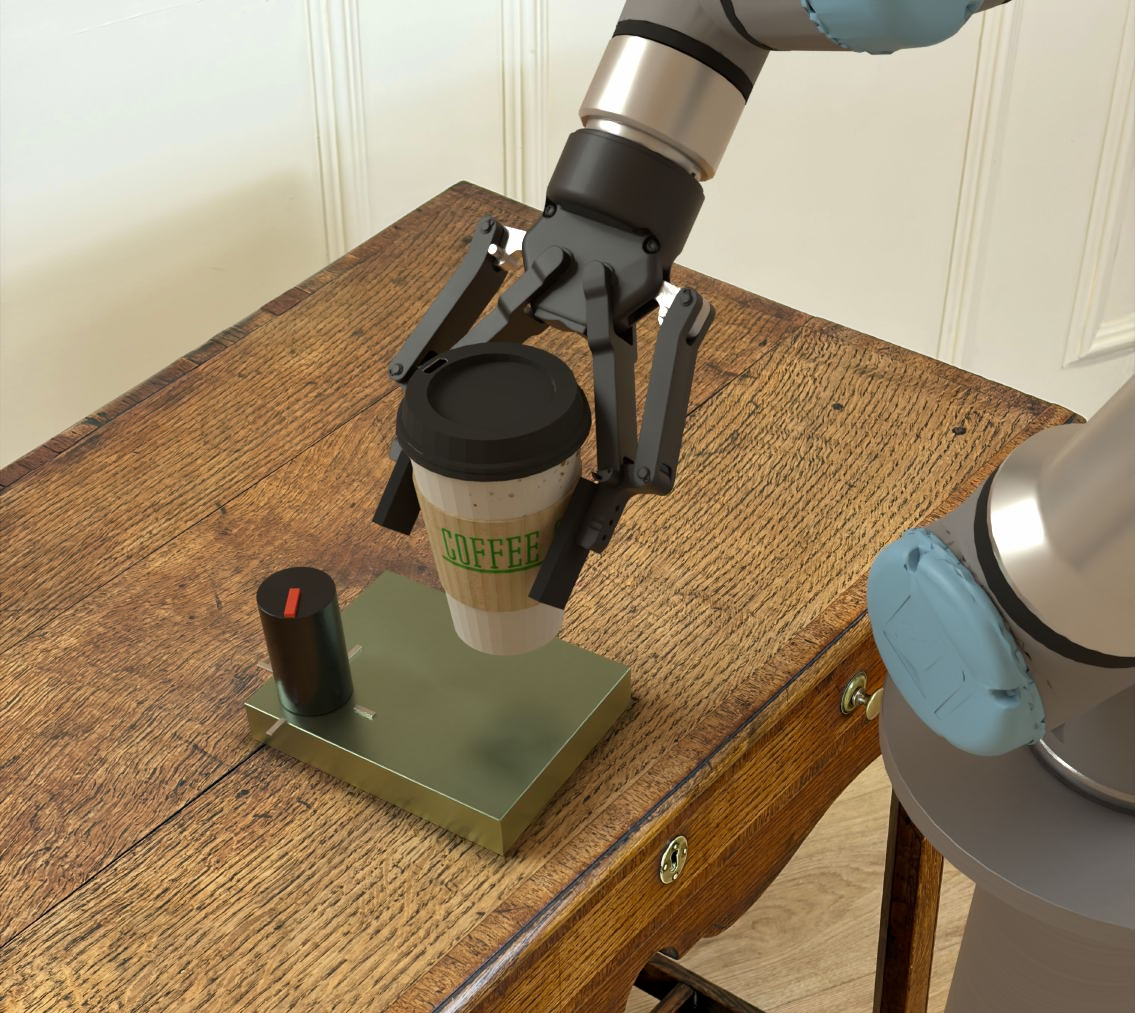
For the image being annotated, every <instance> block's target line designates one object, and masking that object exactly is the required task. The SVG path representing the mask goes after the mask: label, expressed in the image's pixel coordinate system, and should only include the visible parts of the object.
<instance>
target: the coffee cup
mask: <svg viewBox="0 0 1135 1013" xmlns="http://www.w3.org/2000/svg"><path fill="white" fill-rule="evenodd" d="M400 400H401V401H400V403H399V405H398V408H397V411H396V418H395V431H394V432H395V436H397V440H398V444H399V445H400V447H401V448H402V450H403V451H404V453H405V454H406V455H407V456H408V457H409V458H410V459H411V462H412V466H413V482H414V486H415V489H416V493H417V497H418V501H419V504H420V508H421V510H420V512H421V516H422V519H423V524H424V526H425V530H426V534H427V537H428V542H429V545H430V549H431V552H432V556H433V560H434V564H435V567H436V571H437V575H438V578H439V582H440V584H441V586H442V588H443V589H444V593H446V596H447V600H448V604H449V608H450V612H451V615H452V619H453V623H454V627H455V630H456V632H457V634H458V636H459V637H460V638H461V639H462V640H463V641H464V642H465V643H466V644H467V645H469V646H470V647H472V648H473V649H476V650H478V651H481V652H483V653H488V654H492V655H502V656H508V655H518V654H524V653H528V652H531V651H534V650H536V649H538V648H540V647H542V646H544V645H546V644H547V643H548V642H550V641H551V640H552V639H553V638H554V637H556V636H557V635H558V634H559V632H560V631H561V629H562V627H563V623H564V620H565V609H566V608H565V609H564V610H562V609H559V608H555V607H552V606H549V605H546V604H543V603H540V602H538V601H536V600H534V599H532V598H530V597H528V595H529V593H530V590H531V588H532V586H533V584H534V581H535V579H536V577H537V574H538V572H539V570H540V567H541V565H542V563H543V561H544V558H545V556H546V554H547V551H548V549H549V547H550V545H551V542H552V540H553V538H554V535H555V533H556V531H557V529H558V526H559V524H560V522H561V519H562V517H563V515H564V513H565V510H566V508H567V506H568V503H569V501H570V499H571V497H572V494H573V492H574V490H575V487H576V485H577V483H578V481H579V478H580V476H581V477H583V461H582V458H581V454H582V447H583V446H584V444H585V442H586V440H587V439H588V437H589V435H590V433H591V429H592V424H593V417H592V410H591V407H590V403H589V400H588V398H587V396H586V393H585V392H584V389H583V388H582V387H581V385H580V384H579V383H578V381H577V378H576V377H575V374H574V372H573V370H572V369H571V368H570V367H569V365H568V364H567V363H566V362H565V361H563V360H562V359H561V358H559V357H558V356H557V355H555V354H554V353H551V352H549V351H547V350H545V349H543V348H539V347H535V346H533V345H529V344H525V343H523V344H518V343H509V342H486V343H477V344H471V345H465V346H462V347H458V348H455V349H451V350H449V351H446V352H444V353H441V354H439V355H437V356H435V357H434V358H432V359H430V360H429V361H427V362H425V363H424V364H423V365H422V366H421V367H420V368H418V369H417V370H416V371H415V373H414V374H413V375H412V377H411V378H410V380H409V382H408V385H407V387H406V391H404V396H403V397H402V398H401V399H400Z"/></svg>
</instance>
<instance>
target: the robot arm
mask: <svg viewBox="0 0 1135 1013" xmlns="http://www.w3.org/2000/svg"><path fill="white" fill-rule="evenodd" d="M1011 1H1013V0H625V2H624V5H623V6H622V10H621V12H620V15H619V17H618V20H617V22H616V25H615V29H614V31H613V32H612V36H611V38H610V39H609V40H608V42H607V45H606V47H605V49H604V52H603V54H602V57H601V59H600V61H599V63H598V66H597V68H596V70H595V72H594V74H593V77H592V79H591V81H590V84H589V86H588V89H587V91H586V93H585V95H584V98H583V100H582V102H581V105H580V107H579V109H578V117H579V120H580V122H581V125H582V127H583V128H579V129H576V130H575V131H573V132H571V133H569V134H568V137H567V139H566V141H565V144H564V146H563V148H562V151H561V152H560V155H559V158H558V161H557V163H556V165H555V168H554V170H553V173H552V175H551V177H550V179H549V182H548V184H547V185H546V186H547V187H546V191H545V199H544V207H543V211H542V213H541V214H540V216H539V218H538V219H537V220H536V221H535V223H533V224H532V225H531V226H530V227H529V228H528V229H527V230H522V229H518V228H514V227H511V226H508V225H505V224H503V223H502V222H500V221H499V220H498V219H496V218H495V217H494V216H492V215H485V216H482V217H481V218H480V219H479V220H478V222H477V224H476V227H475V229H474V232H473V235H472V238H471V241H470V244H469V246H468V249H467V253H466V255H465V256H464V257H463V259H462V261H461V262H460V264H458V267H457V268H456V269H455V271H454V272H453V273H452V275H451V277H450V278H449V279H448V281H447V282H446V283H445V285H444V287H443V288H442V289H441V291H440V292H439V293H438V295H437V296H436V297H435V299H434V300H433V302H432V303H431V305H430V306H429V307H428V309H427V310H426V311H425V313H424V315H423V316H422V317H421V319H420V320H419V321H418V323H417V325H416V326H415V327H414V328H413V330H412V332H411V333H410V334H409V335H408V337H407V339H406V340H405V342H404V343H403V344H402V346H401V347H400V348H399V350H398V351H397V353H396V354H395V355H394V357H393V358H392V360H391V361H390V362H389V364H388V367H387V375H388V377H389V379H391V380H392V381H394V382H395V383H397V384H398V386H399V387H400V388H401V389H402V390H403V391H404V392H405V391H406V387H407V385H408V382H409V380H410V378H411V377H412V375H413V374H414V373H415V371H416V370H417V369H418V368H420V367H421V366H422V365H423V364H424V363H425V362H427V361H429V360H430V359H432V358H434V357H435V356H437V355H439V354H441V353H444V352H446V351H449V350H451V349H455V348H458V347H462V346H465V345H471V344H477V343H486V342H509V343H518V344H525V342H526V341H527V340H529V339H530V338H532V337H535V336H539V335H541V334H543V333H544V332H545V331H546V330H548V328H550V327H551V328H553V329H556V330H557V331H561V332H563V333H576V334H577V335H579V336H580V337H581V338H583V340H585V341H587V345H588V348H589V351H590V352H591V356H592V375H593V376H592V377H593V378H592V379H593V401H594V402H593V403H594V424H595V442H596V443H595V446H596V448H595V449H596V450H595V451H596V470H595V471H590V474H591V477H592V479H593V480H594V481H596V482H597V483H596V482H594V481H593V480H591V479H588V478H585V477H583V476H582V477H581V476H580V478H579V481H578V483H577V485H576V487H575V490H574V492H573V494H572V497H571V499H570V501H569V503H568V506H567V508H566V510H565V513H564V515H563V517H562V519H561V522H560V524H559V526H558V529H557V531H556V533H555V535H554V538H553V540H552V542H551V545H550V547H549V549H548V551H547V554H546V556H545V558H544V561H543V563H542V565H541V567H540V570H539V572H538V574H537V577H536V579H535V581H534V584H533V586H532V588H531V590H530V593H529V595H528V597H530V598H532V599H534V600H536V601H538V602H540V603H543V604H546V605H549V606H552V607H555V608H559V609H562V610H564V609H566V606H567V604H568V602H569V600H570V598H571V595H572V593H573V591H574V588H575V586H576V585H577V584H576V583H577V582H578V580H579V576H580V575H581V572H582V570H583V568H584V565H585V563H586V561H587V558H588V556H589V555H590V553H591V552H593V553H595V554H598V555H602V553H603V552H604V551H605V550H607V548H608V547H609V545H610V542H611V540H612V538H613V535H614V534H615V531H616V528H617V526H618V524H619V522H620V520H621V517H622V516H623V513H624V511H625V508H626V506H627V504H628V502H629V501H630V500H631V499H632V498H633V497H634V496H637V495H656V496H659V497H666V496H668V495H670V494H671V493H672V492H673V490H674V488H675V487H674V486H675V483H676V477H677V471H678V466H679V461H680V455H681V449H682V444H683V438H684V433H685V427H686V420H687V415H688V411H689V410H688V409H689V403H690V398H691V392H692V388H693V387H692V386H693V380H694V376H695V369H696V364H697V358H698V352H699V349H700V347H701V345H702V343H703V341H704V340H705V337H706V336H707V334H708V332H709V330H710V327H711V326H712V325H713V322H714V321H715V318H716V315H717V313H716V308H715V306H714V305H713V304H712V303H711V302H710V301H708V300H707V299H706V298H705V297H704V296H703V295H702V294H700V293H699V292H698V291H697V290H696V289H695V288H693V287H691V286H684V287H682V288H681V287H679V286H677V285H675V284H673V283H672V281H671V278H672V277H671V275H672V267H673V264H674V263H675V260H677V258H678V257H679V256H680V255H681V254H682V252H683V251H684V248H685V246H686V244H687V241H688V239H689V237H690V234H691V232H692V231H693V228H694V225H695V223H696V221H697V219H698V216H699V214H700V211H701V209H702V207H703V204H704V202H705V200H706V195H705V194H704V193H705V192H704V188H703V186H702V184H701V183H704V182H707V181H709V180H713V179H714V177H715V176H716V173H717V172H718V169H719V166H720V164H721V162H722V160H723V157H724V155H725V153H726V150H727V148H728V146H729V144H730V141H731V139H732V137H733V135H734V132H735V130H736V127H737V125H738V124H739V121H740V119H741V116H742V114H743V112H744V110H745V107H746V106H747V104H748V101H749V99H750V96H751V94H752V92H753V89H754V86H755V85H756V82H757V81H758V78H759V77H760V74H761V72H762V70H763V67H764V65H765V63H766V61H767V59H768V56H770V52H854V53H858V54H862V53H867V54H869V55H871V56H887V55H892V54H894V53H895V52H897V51H901V50H909V49H920V48H927V47H928V48H929V47H931V46H935V45H938V44H940V43H943V42H945V41H947V40H948V39H950V38H953V37H954V36H955V35H957V34H958V33H959V32H960V30H961V29H962V28H963V27H964V25H966V24H967V23H968V21H969V20H970V19H971V18H972V16H973V15H975V14H978V13H981V12H985V11H988V10H990V9H994V8H996V7H998V6H1002V5H1005V4H1006V5H1007V4H1008V3H1011ZM520 259H522V264H523V271H524V273H523V274H521V276H519V277H518V278H517V279H516V280H515V281H514V282H512V284H511V285H509V287H507V288H506V290H504V291H503V292H502V293H501V294H500V295H499V296H498V298H497V304H496V306H495V307H494V308H493V309H492V310H490V311H489V313H487V314H486V315H485V317H483V318H482V319H481V320H480V321H479V322H478V323H477V324H476V322H477V321H478V319H479V318H480V317H481V315H482V314H483V312H484V311H485V310H486V309H487V307H488V306H489V304H490V303H491V301H492V300H493V299H494V297H495V296H496V294H498V291H499V290H500V288H501V287H502V285H503V284H504V281H505V280H506V278H507V276H508V274H509V271H515V270H517V269H518V268H519V265H520V262H519V261H520ZM658 308H659V309H658ZM657 309H658V311H657V321H658V324H659V325H660V327H659V330H658V333H657V336H656V341H655V345H654V351H653V357H652V362H651V368H650V373H649V380H648V383H647V384H648V385H647V391H646V396H645V402H644V408H643V413H642V419H641V425H640V429H639V436H638V421H637V420H638V418H637V397H636V396H637V395H636V374H635V373H636V372H635V364H636V363H637V361H638V358H639V357H638V356H639V355H638V335H637V334H638V333H637V330H638V329H637V323H639V322H640V321H641V320H643V319H644V318H646V317H647V316H649V315H650V314H651V313H652V312H654V311H655V310H657ZM475 324H476V325H475ZM473 326H474V327H473ZM388 459H389V460H391V461H393V462H395V464H394V466H393V468H392V471H391V474H390V476H389V478H388V481H387V483H386V486H385V488H384V491H383V493H382V495H381V497H380V500H379V502H378V505H377V507H376V509H375V512H374V514H373V517H372V519H371V522H372V523H374V524H376V525H378V526H380V527H383V528H386V529H388V530H392V531H394V532H397V533H400V534H401V535H405V536H408V537H410V536H411V533H412V531H413V528H414V526H415V524H416V522H417V519H418V516H419V514H420V512H421V508H420V504H419V501H418V497H417V493H416V489H415V486H414V482H413V466H412V462H411V459H410V458H409V457H408V456H407V455H406V454H405V453H404V451H403V450H402V448H401V447H400V445H399V444H398V440H397V436H396V435H395V437H394V439H393V440H392V443H391V445H390V448H389V456H388ZM866 607H867V614H868V618H869V622H870V625H871V629H872V636H873V639H874V642H875V645H876V648H877V650H878V653H879V655H880V657H881V660H882V662H883V664H884V666H885V668H886V671H888V672H889V674H890V676H891V678H892V679H893V681H894V683H895V685H896V686H897V688H898V689H899V691H900V693H901V694H902V696H903V697H904V698H905V700H906V701H907V703H908V704H909V705H910V707H911V708H912V709H913V710H914V711H915V713H916V714H917V715H918V716H919V717H920V718H921V720H922V721H923V722H924V723H925V724H926V725H927V726H928V727H929V728H931V729H932V730H933V731H934V732H935V733H936V734H937V735H939V736H940V737H943V738H945V739H946V740H947V741H949V742H950V743H951V744H952V745H954V746H955V747H957V748H959V749H961V750H963V751H965V752H968V753H971V754H974V755H980V756H998V755H1002V754H1005V753H1007V752H1010V751H1012V750H1014V749H1016V748H1018V747H1020V746H1022V745H1025V744H1027V745H1028V747H1029V749H1030V750H1031V752H1032V753H1033V755H1034V756H1035V758H1036V759H1037V760H1038V761H1039V762H1040V764H1041V765H1042V766H1043V767H1044V768H1045V769H1046V770H1047V771H1048V772H1049V773H1050V774H1051V775H1052V776H1054V777H1055V778H1056V779H1057V780H1058V781H1059V782H1061V783H1062V784H1064V785H1065V786H1066V787H1068V788H1069V789H1071V790H1072V791H1074V792H1076V793H1077V794H1079V795H1080V796H1082V797H1084V798H1086V799H1088V800H1090V801H1092V802H1094V803H1096V804H1099V805H1101V806H1103V807H1106V808H1109V809H1112V810H1114V811H1117V812H1120V813H1124V814H1128V815H1131V816H1135V372H1134V373H1133V374H1132V375H1131V376H1130V377H1129V378H1128V379H1127V380H1126V382H1124V384H1122V385H1121V386H1120V387H1119V388H1118V389H1117V391H1115V392H1114V393H1113V395H1112V396H1111V397H1110V398H1109V399H1108V400H1107V401H1106V402H1104V404H1103V405H1102V406H1101V407H1100V408H1099V409H1098V410H1097V411H1096V412H1095V413H1094V414H1093V415H1092V416H1091V417H1090V418H1089V419H1088V420H1087V421H1086V422H1085V423H1078V422H1077V423H1075V422H1073V423H1067V424H1059V425H1055V426H1051V427H1048V428H1044V429H1042V430H1040V431H1038V432H1036V433H1034V434H1033V435H1031V436H1029V437H1028V438H1027V439H1025V440H1023V441H1022V442H1020V443H1019V445H1017V446H1016V447H1015V448H1013V450H1012V451H1011V452H1009V453H1008V454H1007V456H1006V457H1005V458H1003V460H1002V461H1001V462H1000V463H999V464H998V465H997V466H996V467H995V468H994V470H993V471H991V473H990V474H989V475H988V476H987V477H986V478H985V479H984V480H983V481H982V482H981V484H980V485H978V487H976V489H975V490H974V491H973V492H972V493H971V494H970V495H969V496H968V497H967V498H966V499H965V500H964V501H963V502H961V504H960V505H958V506H957V507H955V508H953V510H951V511H949V512H948V513H946V514H945V515H943V516H942V517H940V518H938V519H936V520H935V521H932V522H931V523H928V524H926V525H924V526H922V527H920V526H915V527H914V528H913V527H912V528H908V529H906V530H905V531H904V532H903V533H902V534H901V537H899V538H897V539H895V540H894V541H892V542H890V543H889V544H887V545H886V546H884V547H883V548H882V549H881V550H880V551H879V553H878V554H877V555H876V556H875V558H874V560H873V562H872V564H871V567H870V569H869V572H868V576H867V581H866Z"/></svg>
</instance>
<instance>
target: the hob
mask: <svg viewBox="0 0 1135 1013" xmlns="http://www.w3.org/2000/svg"><path fill="white" fill-rule="evenodd" d="M340 614H341V619H342V625H343V630H344V636H345V642H346V647H347V653H348V659H349V664H350V670H351V675H352V681H353V690H352V693H351V695H350V697H349V698H348V700H347V701H346V702H345V703H344V704H343V705H342V706H340V707H339V708H337V709H335V710H333V711H331V712H328V713H325V714H321V715H314V716H307V715H300V714H296V713H293V712H291V711H289V710H288V709H286V708H285V707H284V706H283V705H282V704H281V702H280V700H279V698H278V693H277V689H276V685H275V680H274V676H273V675H272V676H271V677H270V678H269V679H268V680H267V681H266V682H265V683H264V684H263V685H262V686H261V687H260V688H259V689H258V690H256V691H255V692H254V693H253V694H252V695H251V696H250V697H248V698H247V700H246V701H245V702H244V703H243V705H244V708H245V713H246V717H247V721H248V725H249V728H250V732H251V733H250V734H251V737H252V739H253V740H255V741H257V742H259V743H261V744H264V745H266V746H268V747H270V748H272V749H275V751H276V750H277V751H279V752H281V753H283V754H285V755H287V756H289V757H291V758H293V759H296V760H298V761H300V762H302V763H304V764H306V765H309V766H311V767H313V768H315V769H317V770H318V771H321V772H323V773H325V774H328V775H330V776H332V777H334V778H336V779H338V780H340V781H342V782H344V783H347V784H349V785H351V786H353V787H355V788H357V789H360V790H361V791H364V792H366V793H368V794H370V795H372V796H374V797H376V798H379V799H381V800H383V801H385V802H386V803H389V804H391V805H394V806H395V807H398V808H399V809H402V810H404V811H406V812H408V813H410V814H412V815H414V816H416V817H419V818H421V819H424V820H425V821H427V822H429V823H432V824H434V825H436V826H438V827H440V828H442V829H444V830H446V831H448V832H451V833H452V834H455V835H457V836H460V837H461V838H463V839H466V840H468V841H470V842H472V843H473V844H476V845H479V846H480V847H482V848H485V849H487V850H489V851H491V852H493V853H495V854H497V855H500V856H502V857H503V856H505V855H506V853H507V852H508V851H509V850H510V849H511V847H512V846H513V845H514V844H515V843H516V842H517V840H519V838H520V837H521V835H523V833H524V832H525V830H526V829H528V827H529V826H530V825H531V823H532V822H533V821H534V820H535V818H536V817H537V816H538V815H539V814H540V813H541V811H543V809H544V808H545V807H546V806H547V804H548V803H549V802H550V801H551V799H552V798H553V797H554V796H555V795H556V794H557V792H559V790H560V789H561V787H562V786H563V785H564V784H565V782H566V781H567V780H568V779H569V778H570V777H571V776H572V775H573V773H574V772H575V771H576V769H578V767H579V766H580V765H581V764H582V762H584V760H585V759H586V757H588V756H589V754H590V753H591V752H592V751H593V749H594V748H595V747H596V746H597V744H598V743H599V742H600V741H601V740H602V738H603V737H604V736H605V735H606V734H607V733H608V731H609V730H610V729H611V728H612V726H613V725H615V723H616V722H617V721H618V719H619V718H620V717H621V716H622V715H623V713H624V712H625V711H626V710H627V709H628V708H629V707H630V705H631V704H632V668H631V667H630V666H628V665H626V664H623V663H620V662H619V661H615V660H614V659H611V658H608V657H605V656H603V655H601V654H598V653H596V652H593V651H590V650H588V649H585V648H583V647H581V646H578V645H576V644H573V643H571V642H568V641H565V640H563V639H561V638H558V637H556V636H555V637H554V638H553V639H552V640H551V641H550V642H548V643H547V644H546V645H544V646H542V647H540V648H538V649H536V650H534V651H531V652H528V653H524V654H518V655H508V656H502V655H492V654H488V653H483V652H481V651H478V650H476V649H473V648H472V647H470V646H469V645H467V644H466V643H465V642H464V641H463V640H462V639H461V638H460V637H459V636H458V634H457V632H456V630H455V627H454V623H453V619H452V615H451V612H450V608H449V604H448V600H447V596H446V592H445V591H441V590H439V589H436V588H434V587H431V586H429V585H426V584H423V583H422V582H421V583H420V582H419V581H416V580H414V579H411V578H409V577H406V576H404V575H402V574H398V573H396V572H393V571H392V570H389V569H385V570H384V571H383V572H382V573H381V574H380V575H379V576H378V577H377V578H376V579H374V581H372V583H370V585H368V586H367V587H366V588H365V589H364V590H363V591H362V592H361V593H359V595H358V596H357V597H355V598H354V599H353V600H352V601H351V602H350V603H349V604H348V605H347V606H346V607H344V608H343V609H342V611H340ZM256 667H257V668H260V669H262V670H264V671H266V672H269V673H271V674H273V671H272V667H271V664H268V663H266V662H263V661H262V660H260V661H259V662H258V663H257V664H256Z"/></svg>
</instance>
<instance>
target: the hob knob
mask: <svg viewBox="0 0 1135 1013" xmlns="http://www.w3.org/2000/svg"><path fill="white" fill-rule="evenodd" d="M255 600H256V605H257V609H258V614H259V618H260V623H261V627H262V632H263V636H264V641H265V643H266V649H267V654H268V657H269V658H268V659H269V663H270V666H271V667H272V671H273V673H272V676H274V680H275V685H276V689H277V693H278V698H279V700H280V702H281V704H282V705H283V706H284V707H285V708H286V709H288V710H289V711H291V712H293V713H296V714H300V715H307V716H314V715H321V714H325V713H328V712H331V711H333V710H335V709H337V708H339V707H340V706H342V705H343V704H344V703H345V702H346V701H347V700H348V698H349V697H350V695H351V693H352V690H353V681H352V675H351V670H350V664H349V659H348V653H347V647H346V642H345V636H344V630H343V625H342V619H341V614H340V613H341V609H340V602H339V597H338V591H337V585H336V583H335V580H334V579H333V577H331V576H330V574H328V573H327V572H326V571H324V570H322V569H319V568H315V567H311V566H293V567H292V566H291V567H287V568H284V569H281V570H277V571H276V572H273V573H272V574H269V576H267V577H266V578H265V579H264V580H263V581H262V582H261V583H260V584H259V585H258V588H257V590H256V593H255Z"/></svg>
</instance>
